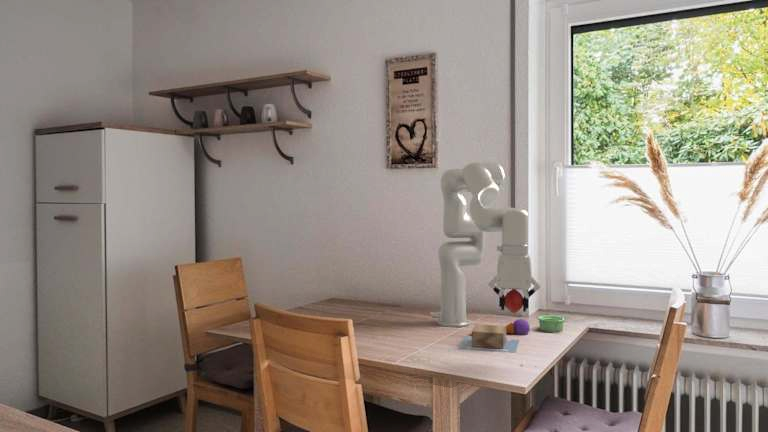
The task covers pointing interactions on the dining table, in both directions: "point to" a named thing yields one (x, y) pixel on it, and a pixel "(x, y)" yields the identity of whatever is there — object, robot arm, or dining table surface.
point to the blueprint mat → (509, 347)
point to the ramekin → (551, 323)
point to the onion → (513, 301)
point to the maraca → (518, 327)
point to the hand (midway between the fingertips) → (513, 309)
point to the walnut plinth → (489, 336)
